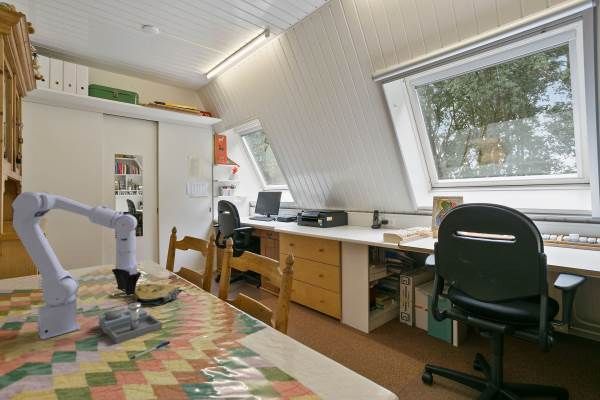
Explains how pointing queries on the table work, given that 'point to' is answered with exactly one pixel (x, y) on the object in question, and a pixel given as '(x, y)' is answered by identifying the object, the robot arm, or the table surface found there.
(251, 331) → the table surface
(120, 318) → the block
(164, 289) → the pulley block
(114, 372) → the table surface
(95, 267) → the table surface
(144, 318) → the tray
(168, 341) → the ballpoint pen
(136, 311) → the lock pin
